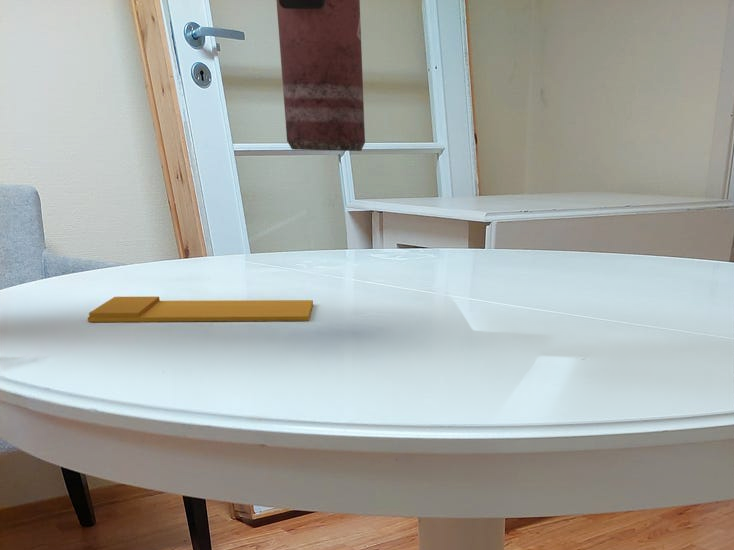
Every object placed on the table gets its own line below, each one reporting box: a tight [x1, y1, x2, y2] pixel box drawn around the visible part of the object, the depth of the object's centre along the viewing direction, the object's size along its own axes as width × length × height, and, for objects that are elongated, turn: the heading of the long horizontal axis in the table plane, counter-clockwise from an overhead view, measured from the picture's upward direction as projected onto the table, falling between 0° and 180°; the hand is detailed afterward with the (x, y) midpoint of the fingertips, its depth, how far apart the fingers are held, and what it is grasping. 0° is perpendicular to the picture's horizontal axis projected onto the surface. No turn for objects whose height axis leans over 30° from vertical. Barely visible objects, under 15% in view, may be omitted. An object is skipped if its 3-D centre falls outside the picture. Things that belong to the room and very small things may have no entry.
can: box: [275, 0, 366, 152], centre depth 67 cm, size 6×6×14 cm
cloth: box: [87, 296, 314, 323], centre depth 87 cm, size 20×10×1 cm, turn 97°
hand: (316, 11), depth 66 cm, fingers closed on can, 6 cm apart
